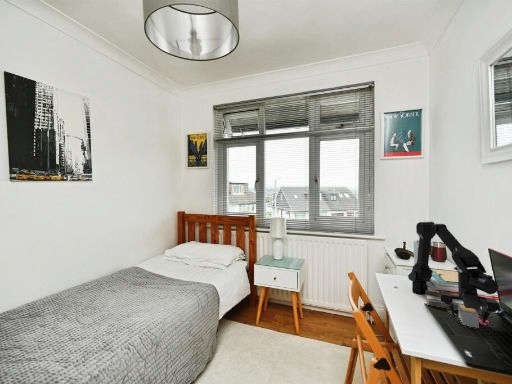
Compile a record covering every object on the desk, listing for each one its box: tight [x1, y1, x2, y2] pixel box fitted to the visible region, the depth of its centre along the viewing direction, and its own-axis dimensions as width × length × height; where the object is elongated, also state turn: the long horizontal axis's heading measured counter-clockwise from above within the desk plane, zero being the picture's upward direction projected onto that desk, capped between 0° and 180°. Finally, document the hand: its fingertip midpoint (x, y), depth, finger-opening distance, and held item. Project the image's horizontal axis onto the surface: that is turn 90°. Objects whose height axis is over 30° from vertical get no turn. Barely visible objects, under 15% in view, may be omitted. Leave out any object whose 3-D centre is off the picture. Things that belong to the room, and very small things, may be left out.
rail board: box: [424, 289, 482, 316], centre depth 115 cm, size 20×13×3 cm, turn 60°
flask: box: [413, 239, 419, 266], centre depth 144 cm, size 17×5×25 cm, turn 153°
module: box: [458, 304, 480, 329], centre depth 99 cm, size 5×7×6 cm
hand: (468, 320), depth 99 cm, fingers open, 9 cm apart
